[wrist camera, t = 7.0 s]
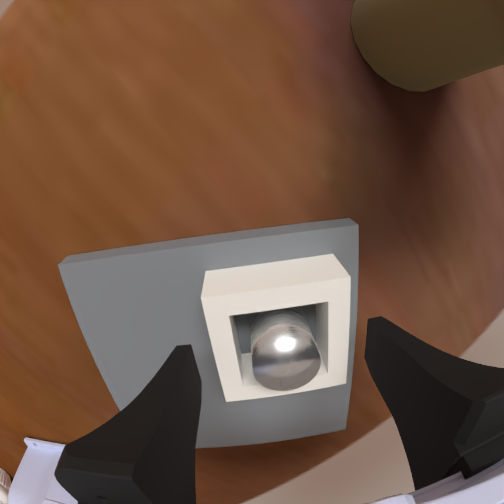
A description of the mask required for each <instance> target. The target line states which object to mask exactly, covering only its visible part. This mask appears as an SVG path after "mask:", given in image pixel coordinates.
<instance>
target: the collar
mask: <svg viewBox="0 0 504 504" xmlns="http://www.w3.org/2000/svg"><path fill="white" fill-rule="evenodd" d="M350 291H351V277H350V275H349V274H348V273H347V271H346V270H345V269H344V267H343V266H342V265H341V263H340V262H339V261H338V260H337V258H336V257H335V256H334V254H327V255H320V256H313V257H306V258H299V259H292V260H285V261H277V262H270V263H263V264H255V265H248V266H241V267H233V268H226V269H218V270H211V271H205V277H204V282H203V288H202V294H201V301H202V306H203V310H204V315H205V319H206V323H207V328H208V332H209V336H210V340H211V345H212V349H213V353H214V357H215V361H216V365H217V369H218V373H219V377H220V381H221V384H222V388H223V392H224V396H225V400H226V402H231V401H240V400H249V399H258V398H265V397H273V396H280V395H286V394H293V393H299V392H305V391H311V390H316V389H321V388H327V387H332V386H337V385H341V384H346V378H347V364H348V347H349V327H350ZM309 304H315V305H316V346H317V349H318V352H319V354H320V358H321V366H320V369H319V371H318V373H317V375H316V376H315V377H314V378H313V379H312V380H311V381H310V382H309V383H307V384H306V385H304V386H302V387H300V388H297V389H294V390H289V391H276V390H271V389H268V388H266V387H264V386H262V385H261V384H260V383H259V382H258V381H257V380H256V379H255V377H254V374H253V368H252V357H251V353H243V354H241V350H240V344H239V339H238V333H237V328H236V322H235V317H234V315H239V314H247V313H254V312H262V311H269V310H276V309H283V308H289V307H296V306H303V305H309Z"/></svg>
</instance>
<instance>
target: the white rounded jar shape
mask: <svg viewBox="0 0 504 504" xmlns="http://www.w3.org/2000/svg"><path fill="white" fill-rule="evenodd" d="M10 486H11V480H10V476H9V475H8V473H7V472H5V471H4V470H3V469H2V468H0V504H8V493H9V489H10Z"/></svg>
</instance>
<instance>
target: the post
mask: <svg viewBox="0 0 504 504" xmlns="http://www.w3.org/2000/svg"><path fill="white" fill-rule="evenodd" d="M248 322H249V334H250V345H251V357H252V368H253V374H254V377H255V379H256V380H257V381H258V382H259V383H260V384H261V385H262V386H264V387H266V388H268V389H271V390H276V391H289V390H294V389H297V388H300V387H302V386H304V385H306V384H307V383H309V382H310V381H311V380H312V379H313V378H314V377H315V376H316V375H317V373H318V371H319V369H320V366H321V358H320V354H319V352H318V349H317V346H316V343H315V341H314V338H313V335H312V332H311V330H310V327H309V324H308V322H307V319H306V316H305V314H304V311H303V308H302V306H296V307H289V308H283V309H276V310H269V311H262V312H254V313H249V315H248Z"/></svg>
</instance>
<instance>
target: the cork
mask: <svg viewBox="0 0 504 504" xmlns="http://www.w3.org/2000/svg"><path fill="white" fill-rule="evenodd" d="M350 22H351V27H352V32H353V37H354V41H355V43H356V45H357V46H358V48H359V50H360V52H361V54H362V56H363V58H364V59H365V60H366V61H367V63H368V64H369V65H370V66H371V67H372V68H373V70H374V71H375V72H376V73H377V74H378V75H380V76H381V77H383V78H384V79H385V80H387V81H388V82H389V83H391V84H392V85H395V86H397V87H400V88H402V89H405V90H407V91H417V92H426V91H429V90H431V89H434V88H437V87H440V86H443V85H445V84H448V83H451V82H454V81H456V80H459V79H462V78H465V77H467V76H470V75H473V74H476V73H479V72H482V71H485V70H488V69H491V68H494V67H497V66H500V65H503V64H504V0H356V1H355V3H354V5H353V7H352V14H351V21H350Z"/></svg>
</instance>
